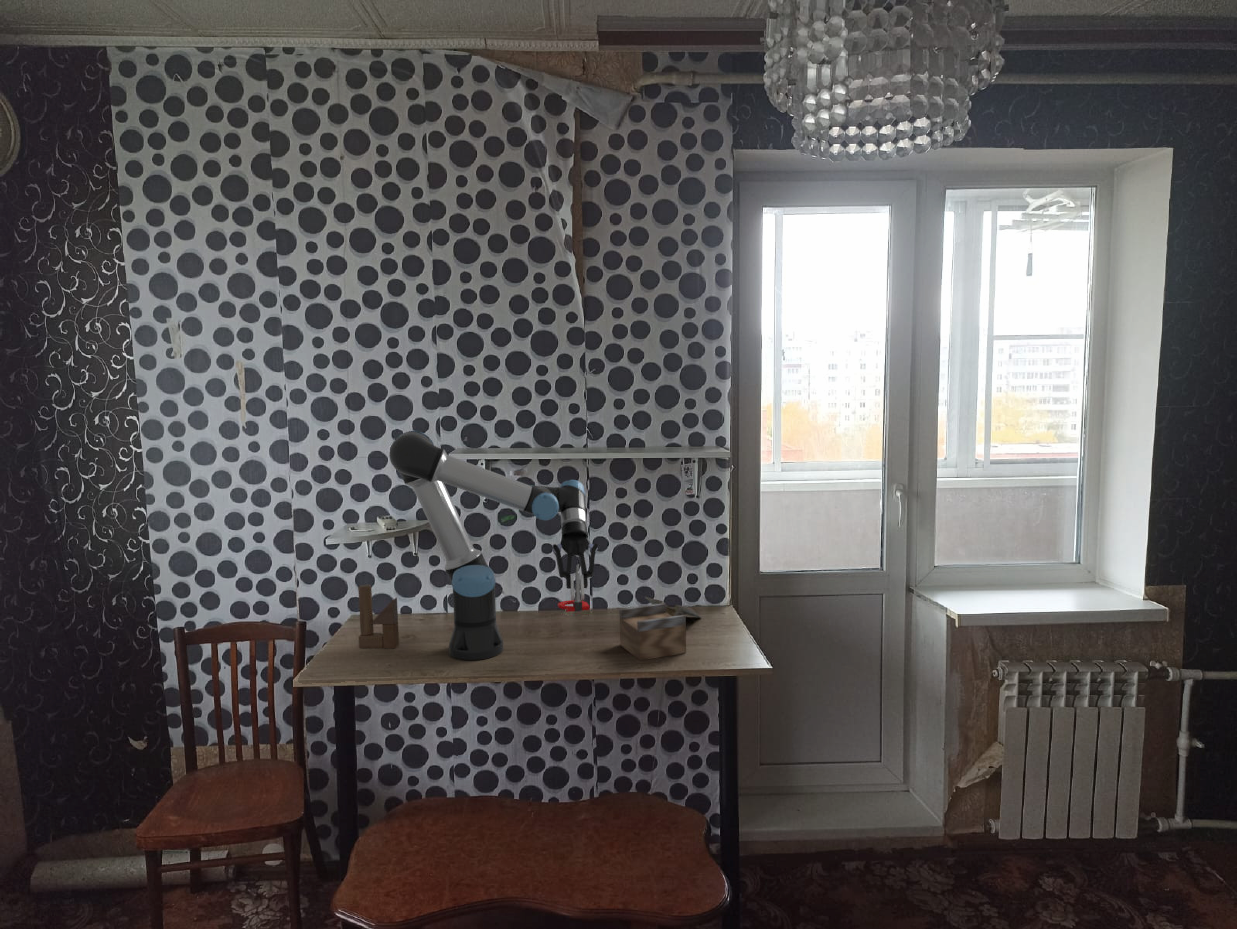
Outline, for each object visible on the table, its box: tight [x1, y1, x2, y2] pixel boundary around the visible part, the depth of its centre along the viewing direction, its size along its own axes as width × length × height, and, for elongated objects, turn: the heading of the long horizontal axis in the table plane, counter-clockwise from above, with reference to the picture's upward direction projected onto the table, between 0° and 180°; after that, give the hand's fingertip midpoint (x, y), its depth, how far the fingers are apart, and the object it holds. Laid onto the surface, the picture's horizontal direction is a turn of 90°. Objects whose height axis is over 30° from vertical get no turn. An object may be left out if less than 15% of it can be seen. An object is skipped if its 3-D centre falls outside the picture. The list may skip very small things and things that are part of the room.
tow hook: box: [557, 564, 591, 613], centre depth 220 cm, size 8×13×9 cm
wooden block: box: [357, 584, 400, 649], centre depth 227 cm, size 4×11×18 cm, turn 86°
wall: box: [644, 596, 702, 619], centre depth 245 cm, size 16×9×15 cm
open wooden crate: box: [619, 602, 687, 661], centre depth 221 cm, size 14×14×10 cm
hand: (577, 597), depth 216 cm, fingers closed on tow hook, 2 cm apart
